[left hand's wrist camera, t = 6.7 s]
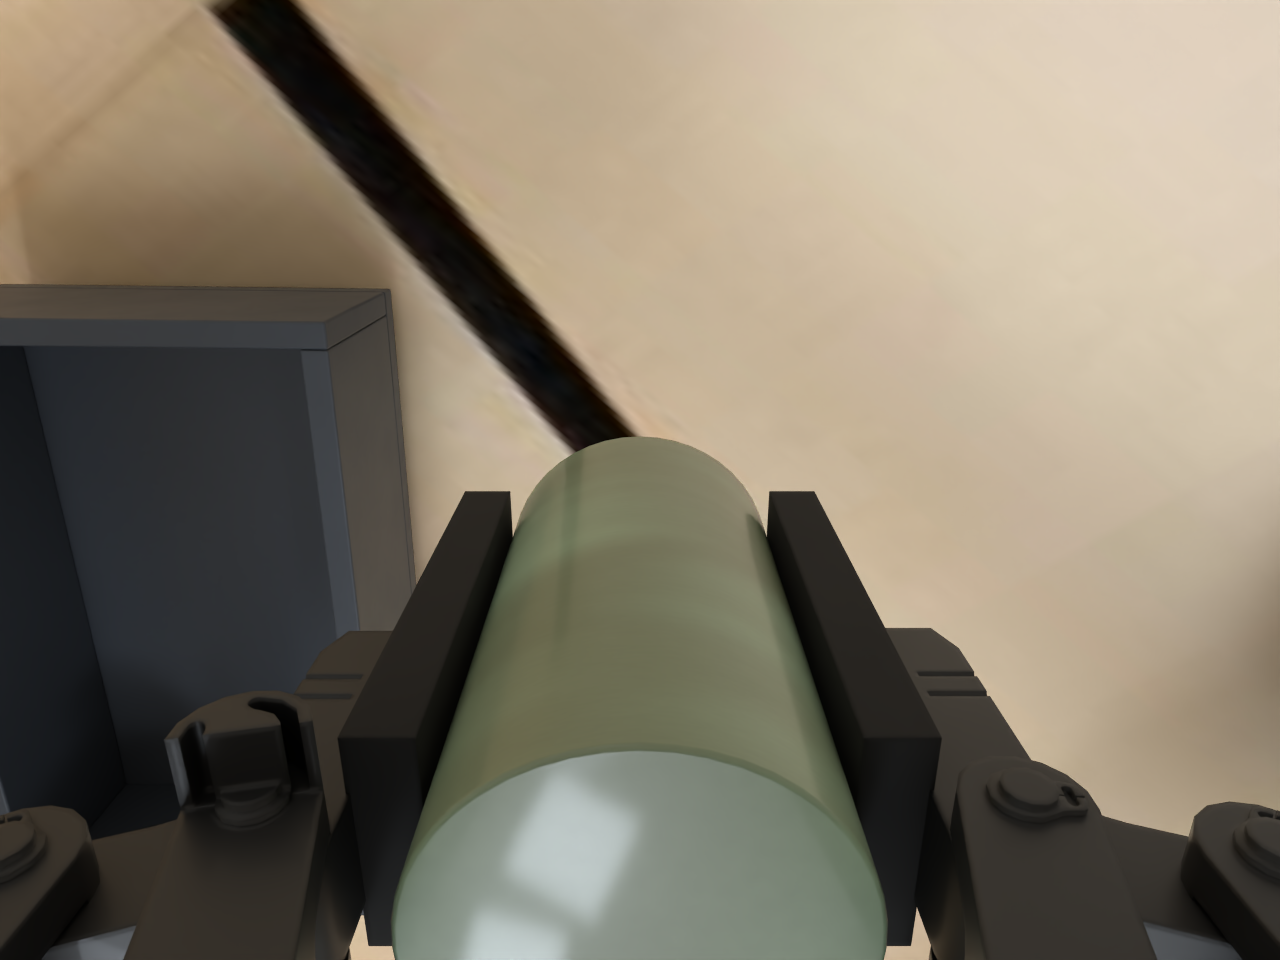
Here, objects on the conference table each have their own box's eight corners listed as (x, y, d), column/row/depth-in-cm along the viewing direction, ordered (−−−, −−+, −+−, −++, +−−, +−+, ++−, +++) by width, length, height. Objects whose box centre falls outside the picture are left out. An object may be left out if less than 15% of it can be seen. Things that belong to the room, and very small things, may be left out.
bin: (391, 288, 30) (324, 322, 24) (434, 788, 38) (392, 916, 31) (2, 283, 30) (-169, 316, 24) (123, 785, 38) (17, 912, 31)
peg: (771, 435, 14) (916, 746, 7) (758, 662, 16) (865, 1117, 8) (507, 435, 14) (362, 746, 7) (520, 662, 16) (413, 1118, 8)
